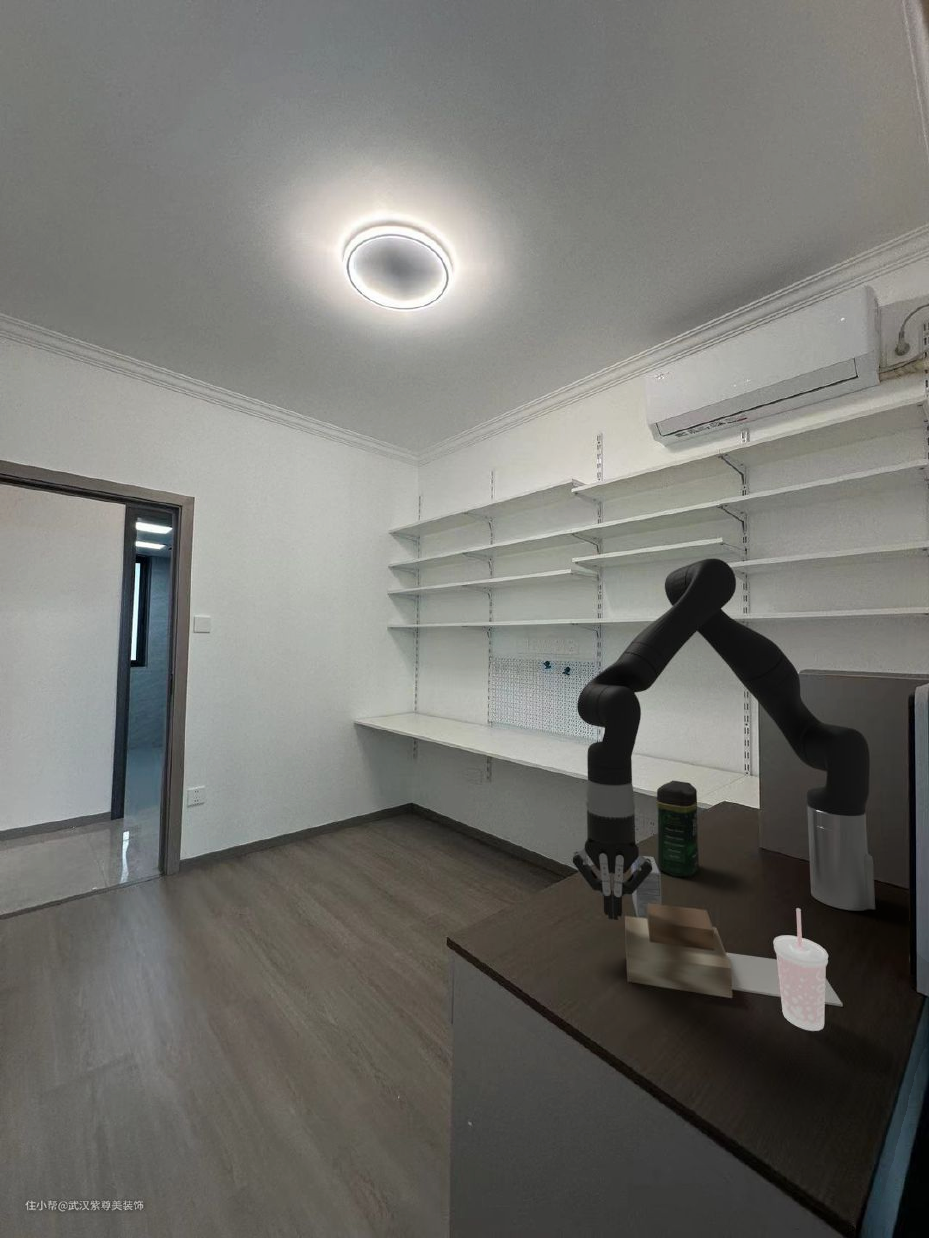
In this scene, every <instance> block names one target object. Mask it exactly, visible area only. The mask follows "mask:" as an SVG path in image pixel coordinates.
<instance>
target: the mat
mask: <svg viewBox="0 0 929 1238" xmlns="http://www.w3.org/2000/svg"><path fill="white" fill-rule="evenodd" d="M725 953H726V955H727V958H728V961H729V963H730V966H731V972H732V991H733V990H734V991H738V992H746V993H750V994H751V993H752V994H757V995H758V994H759V995H765V996H770V997H771V996H772V997H777V998H781V992H780V982H779V973H778V964H777V958H776V959H775V958H768V957H760V956H756V955H755V956H754V955H753V956H752V955H746V954H738V953H731V952H726V951H725ZM825 1005H830V1006H836V1007H843V1006H844V1005H843V1002H842V1000H840V998H839V996H838V994H836V992H835V991H834V989H833V987H832V986H831V984H830V982H829V981H828V979H827V978H826V977H825Z"/></svg>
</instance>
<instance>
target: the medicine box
mask: <svg viewBox="0 0 929 1238" xmlns="http://www.w3.org/2000/svg"><path fill="white" fill-rule="evenodd" d="M642 856H643V857H644V858H645V859H646V858H648V859H650V860H651V863H652V871H651V872H650V874H649V875H648V876H647V877H646V878H645V879H644V881H643V882H642V883H641V884H640V885H639V886H638V888H637V889H636V890H635V891H634V892H633V893H632V894H631V895H632V896H631V897H632V903H633V907H634V910H635V914H636V915H635V916H636V917H637V918H645V919H647V903H651V904H659V905H663V901H662V900H663V897H662V896H663V895H662V877H661V876H662V875H661V872H660V869H659V867H658V863H657V862H656V859H655V857H653V856H649V855H645V856H644V855H642ZM636 862H637V861H636V860H635V862H634V863H633V864H632V866H631V867H630V870H631V872H630V876H631V875H632V873H633V872H634V871H635V870H636Z"/></svg>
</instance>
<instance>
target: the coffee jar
mask: <svg viewBox="0 0 929 1238" xmlns="http://www.w3.org/2000/svg"><path fill="white" fill-rule="evenodd" d="M656 790H657V791H656V807H657V867H658V869H659V871H660V870H661V871H663V872H665V873H667V874H668V875H671V876H673V877H674V876H675V877H692V876H694V875H695V873H697V872H698V869H699V865H700V864H699V863H700V862H699V860H700V859H699V839H698V838H699V837H698V835H699V834H698V794H697V793H698V791H697V789H696V787H695V786H693V785H692V784H691V783H690V782H687V781H679V780H671V781H669V782H666V783H664V784H663V785H661V786H660V787H658V788H657V789H656Z"/></svg>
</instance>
